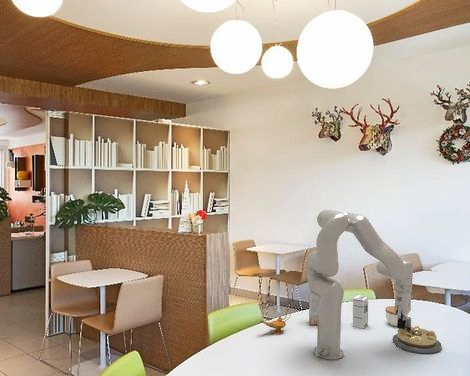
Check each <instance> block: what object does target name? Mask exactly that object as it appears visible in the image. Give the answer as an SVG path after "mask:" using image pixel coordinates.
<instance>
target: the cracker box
mask: <svg viewBox="0 0 470 376" xmlns="http://www.w3.org/2000/svg"><path fill="white" fill-rule="evenodd" d="M308 289H309V288H308ZM308 291H309V294H308V295H309V298H308V299H309V301H308V302H309V305H308V306H309V307H308V309H309V310H308V311H309V312H308V322H309V326H318V307H319V304H320V302H321V298H319V297H317V296H316V295H314V294H313V293H312V292H311V291H310V289H309V290H308Z"/></svg>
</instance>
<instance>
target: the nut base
mask: <svg viewBox="0 0 470 376" xmlns="http://www.w3.org/2000/svg"><path fill="white" fill-rule="evenodd" d="M397 335H398V333H396V334H393V336H392V343H394V344H395V345H396V346H395V345H394V344H393V345H394V346H395V347H396V348H398V347H399V348H398V349H400V348H401V349H400V350H403V351H405V352H408V353H413V354H419V355H433V354H438V353H440V351H442V343H441V342H440V341H439V340H438V339H436V346H434V347H431V348H417V347H412V346H408V345H406V344H403V343H401V342H400V341H399V340H398V339H397Z"/></svg>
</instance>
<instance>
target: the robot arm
mask: <svg viewBox="0 0 470 376" xmlns="http://www.w3.org/2000/svg"><path fill="white" fill-rule="evenodd" d="M316 222H317V225H318V226H319V227H320V228H321V229H320V231H319V233H318V234H317V237H316V242H315V243H316V249H315V250H313V251H311V252H310V253H309V254H308V256H307V260H306V273H307V274H306V275H307V283H308V284H307V285H308V289H310V291H311V292H312V293H313V294H314V295H316V296H317V297H319V298H321V302H320V304H319V307H318V325H317V332H316V333H317V337H316V338H317V339H316V340H317V341H316V344H317V345H316V346H314V348H313V354H314V355H315V356H316V357H318V356H319V357H318V358H320V359H321V358H322V359H324V360H338V359H341V358H343V357H344V356H345V351H344V349H342V348H341V330H342V327H341V326H342V325H341V324H342V304H343V300H344V296H345V294H344V293H345V292H344V287H343V286H342V284H341V283H340V282H339V281H337V280H335V279H333V278H332V277H335V276H336V275H337V274H338V273H339V267H340V266H339V256H338V254H339V252H338V242H339V239H340V236H341V235H342V234H343V233H344V232H348V233H351V234H352V235H353V236H354V237H355V239H357V241H358V243H359V244H360V246H361V247H362V249H363V250H364V251H365V252H366V253H367V254H368V255H370V256H371V257H373V258H375V259H377V261H378V262H377V263H376V267H375V268H376V272H377V273H378V274H379V275H381V276H383V277H384V278H387V279H390V280H393V281H394V283H393V291H394V292H395V300H394V306H395V313H396V314H397V313H398V316H397V318H398V321H397V329H399V328H400V329H405V328H406V320H405V319H406V315H407V314H408V315H409V313H410V312H411V310H412V292H413V278H414V273H413V272H414V263H413V261H412V260H408V259H402V258H401V257H400V255H399V254H398V253H397V252H396V251H395V250H394V249H393V248H391V247H390V246H389V245H388V244H387V243H386V242H385V241H384V240H383V239H382V238H381V237H380V235H379V234H378V232H377V231H376V229H375V227H373V225H372V223H371V222H370V221H369V219H368V218H367V217H366V216H364V215H362V214H359V213H354V212H345V211H337V210H331V209H324V210H322V211H320V212H319V213H318V214H317V216H316Z"/></svg>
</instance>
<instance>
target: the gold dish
mask: <svg viewBox="0 0 470 376" xmlns="http://www.w3.org/2000/svg"><path fill="white" fill-rule="evenodd" d="M397 334H398V335H397V339H398V340H399V341H400V342H401V343H403V344H406V345H408V346H412V347H417V348H431V347H434V346H436V340H438V339H437V335H436V333H435V331H434V330H428V329H424V328H421V327H420V326H419V325H414V327H412V318H411V317H410V316H408V317H406V328H405V329H400V328H398V330H397Z"/></svg>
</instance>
